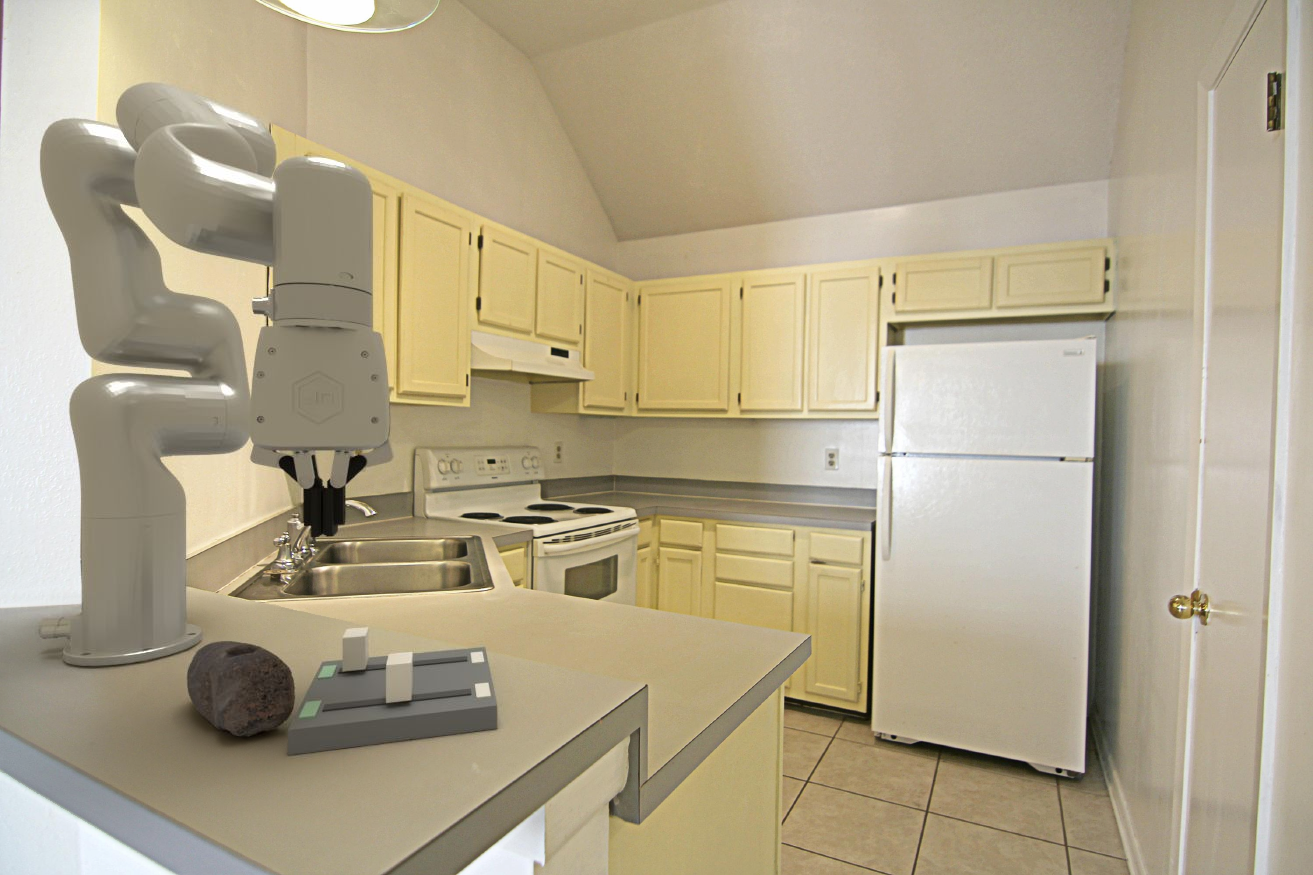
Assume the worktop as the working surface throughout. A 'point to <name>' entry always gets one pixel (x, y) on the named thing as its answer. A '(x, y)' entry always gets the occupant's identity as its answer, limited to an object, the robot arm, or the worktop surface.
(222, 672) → the perforated stone tool
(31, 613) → the worktop surface
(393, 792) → the worktop surface
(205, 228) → the robot arm
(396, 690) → the block
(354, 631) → the block
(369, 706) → the slider switch panel
